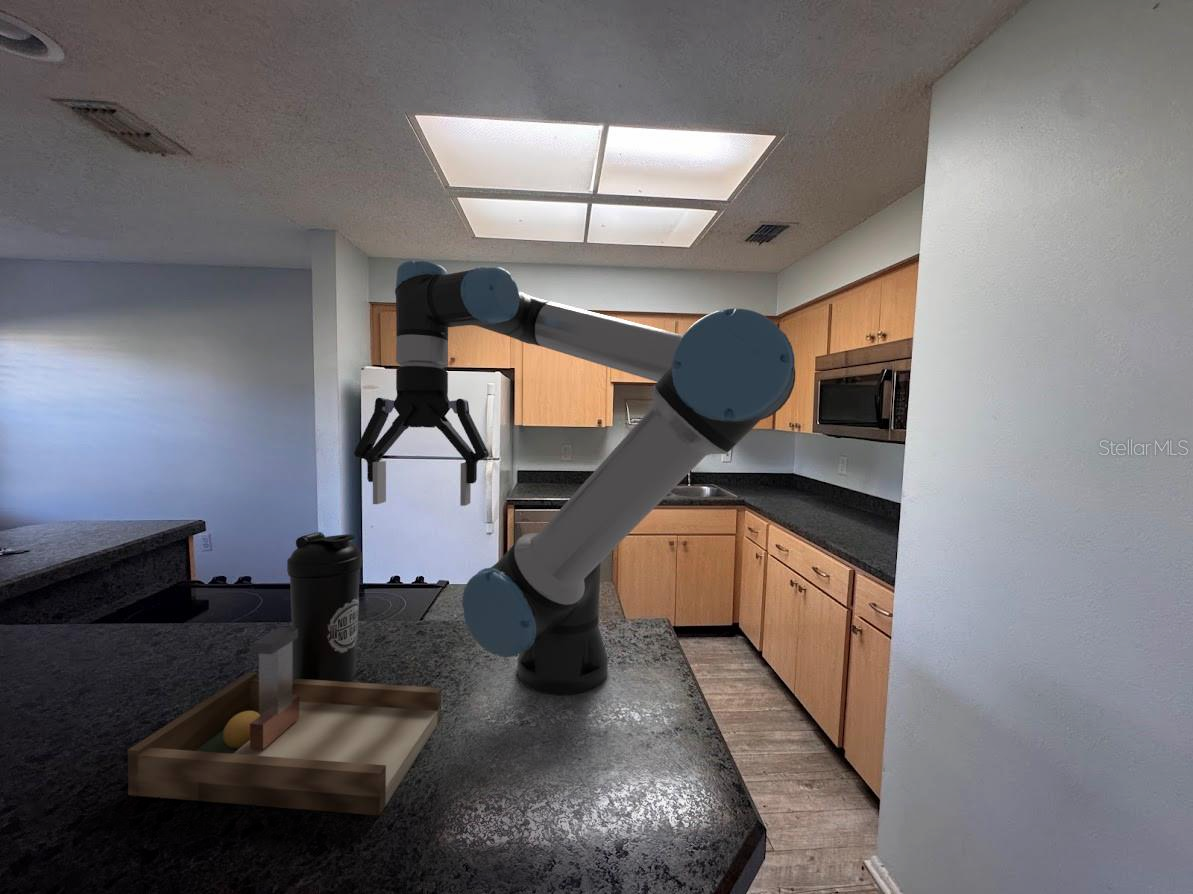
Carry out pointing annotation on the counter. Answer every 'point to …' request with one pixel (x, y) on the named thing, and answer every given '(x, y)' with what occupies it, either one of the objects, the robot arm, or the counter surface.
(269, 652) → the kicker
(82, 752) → the counter surface
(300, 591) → the water bottle
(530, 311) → the robot arm
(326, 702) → the lane
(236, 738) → the ball
